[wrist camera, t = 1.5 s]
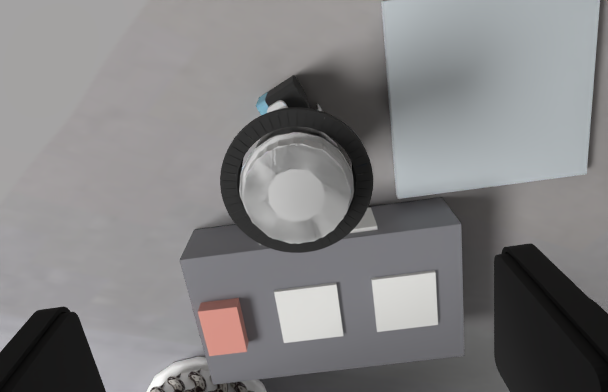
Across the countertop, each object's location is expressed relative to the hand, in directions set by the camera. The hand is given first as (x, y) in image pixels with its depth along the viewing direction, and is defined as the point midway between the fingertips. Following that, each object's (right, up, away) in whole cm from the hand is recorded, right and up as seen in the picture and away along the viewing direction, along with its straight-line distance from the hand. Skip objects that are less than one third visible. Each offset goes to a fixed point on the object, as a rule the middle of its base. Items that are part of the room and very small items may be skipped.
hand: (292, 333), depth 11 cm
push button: (0, +6, +15) cm, 16 cm away
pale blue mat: (+10, +8, +14) cm, 19 cm away
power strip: (+2, -2, +18) cm, 18 cm away
